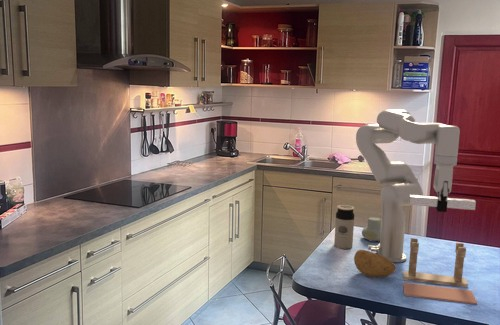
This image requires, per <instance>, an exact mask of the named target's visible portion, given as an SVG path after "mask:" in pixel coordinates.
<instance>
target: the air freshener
mask: <svg viewBox="0 0 500 325" xmlns="http://www.w3.org/2000/svg"><path fill="white" fill-rule="evenodd" d="M380 233H381V218H379V217H374V216H373V217H368V218H367V226H365V227H363V228H362V231H361V235H362V237H363V238H364V239H366V240H367V241H369V242H380Z"/></svg>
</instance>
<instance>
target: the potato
mask: <svg viewBox="0 0 500 325" xmlns="http://www.w3.org/2000/svg"><path fill="white" fill-rule="evenodd" d="M353 261H354V265H355V267H356V269H357V271H359V272H360V274H362V275H364V276H367V277H369V278H385V277H389V276H391V275H393V274H394V273H395V271H396V269H397V267H396V264H395V262H392V261H391V260H389V259H387V258H385V257H383V256H381V255H378V254H376V253H375V252H373V251H371V250H366V249H359V250H357V251H355V254H354V257H353Z"/></svg>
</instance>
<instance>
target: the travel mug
mask: <svg viewBox="0 0 500 325" xmlns="http://www.w3.org/2000/svg"><path fill="white" fill-rule="evenodd" d="M336 208H337V212H336V213H335V224H334V226H335V228H334V242H333V243H334V244H333V245H334V247H336V248H338V249H343V250H347V249H351V248H353V245H354V244H353V243H354V230H355V229H354V228H355V227H354V226H355V213H354V210H355V207H354V206H353V205H348V204H339V205H337V206H336Z"/></svg>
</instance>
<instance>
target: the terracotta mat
mask: <svg viewBox="0 0 500 325" xmlns="http://www.w3.org/2000/svg"><path fill="white" fill-rule="evenodd" d="M402 285H403V286H402V287H403V293H404V296H405V297H414V298H421V299H428V300H429V299H430V300H438V301H445V302H453V303H460V304H461V303H462V304H469V305H478V302H477V299H476V297H475V295H474V293H473V291H472V290H471V289H470V290H469V289H461V288H452V287H443V286H434V285H427V284H420V283H419V284H418V283H410V282H402Z"/></svg>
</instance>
